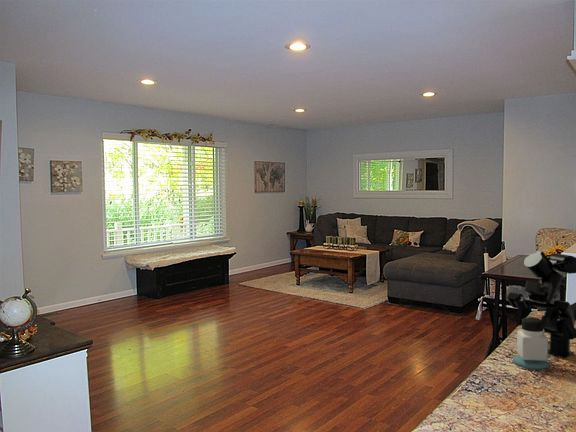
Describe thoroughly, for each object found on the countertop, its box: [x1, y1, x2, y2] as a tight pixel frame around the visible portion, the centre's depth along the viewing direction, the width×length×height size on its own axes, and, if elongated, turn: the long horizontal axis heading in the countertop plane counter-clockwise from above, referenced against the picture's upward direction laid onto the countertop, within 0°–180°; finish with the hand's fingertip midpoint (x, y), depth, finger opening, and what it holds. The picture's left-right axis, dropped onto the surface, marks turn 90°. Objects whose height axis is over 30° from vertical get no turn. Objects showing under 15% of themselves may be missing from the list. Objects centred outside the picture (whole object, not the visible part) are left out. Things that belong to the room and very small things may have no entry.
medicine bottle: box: [516, 316, 549, 362], centre depth 151 cm, size 7×7×12 cm
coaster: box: [512, 354, 550, 371], centre depth 151 cm, size 10×10×1 cm
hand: (529, 327), depth 149 cm, fingers closed on medicine bottle, 6 cm apart
